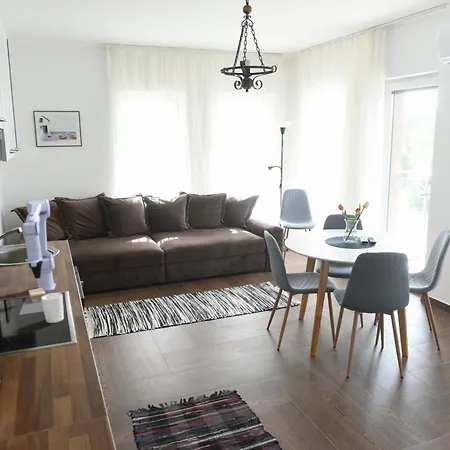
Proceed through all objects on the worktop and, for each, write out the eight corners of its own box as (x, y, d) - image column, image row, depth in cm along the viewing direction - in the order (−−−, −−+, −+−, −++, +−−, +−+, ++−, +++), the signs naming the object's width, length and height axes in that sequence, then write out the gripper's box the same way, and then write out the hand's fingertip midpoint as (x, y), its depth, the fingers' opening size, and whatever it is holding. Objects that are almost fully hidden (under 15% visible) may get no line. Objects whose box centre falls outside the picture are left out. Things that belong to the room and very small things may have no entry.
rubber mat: (26, 298, 214) (25, 297, 214) (57, 294, 217) (57, 293, 217) (19, 315, 193) (18, 314, 193) (54, 310, 197) (54, 309, 196)
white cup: (40, 322, 184) (36, 299, 182) (53, 315, 191) (50, 292, 189) (56, 324, 181) (53, 300, 180) (69, 316, 189) (66, 293, 187)
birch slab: (32, 302, 207) (29, 296, 215) (46, 299, 210) (42, 293, 218) (31, 296, 206) (28, 290, 215) (45, 293, 209) (42, 287, 218)
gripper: (26, 246, 212) (30, 274, 215) (21, 253, 198) (26, 284, 201) (42, 244, 214) (46, 272, 216) (39, 251, 200) (43, 281, 203)
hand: (37, 278), depth 209 cm, fingers closed
